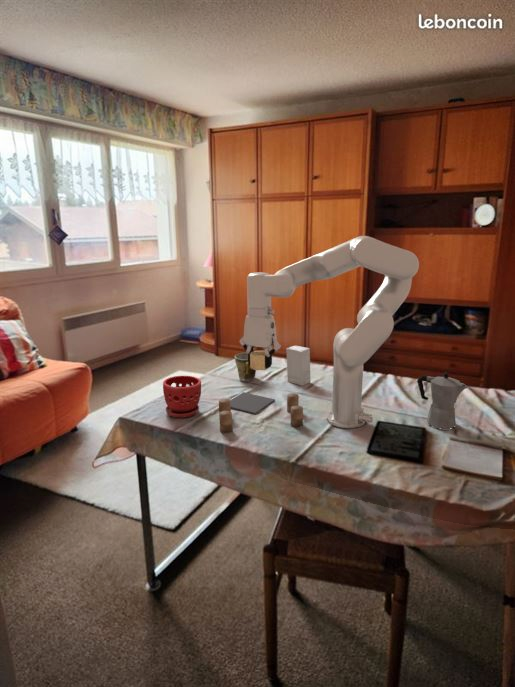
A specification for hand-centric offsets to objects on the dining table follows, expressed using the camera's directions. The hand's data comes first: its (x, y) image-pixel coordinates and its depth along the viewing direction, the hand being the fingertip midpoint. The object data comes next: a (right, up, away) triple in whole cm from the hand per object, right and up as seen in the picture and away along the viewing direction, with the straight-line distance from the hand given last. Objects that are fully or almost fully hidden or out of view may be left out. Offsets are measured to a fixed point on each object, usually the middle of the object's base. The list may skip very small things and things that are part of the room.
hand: (259, 365), depth 150 cm
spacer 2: (-11, -21, -2) cm, 24 cm away
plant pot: (-27, -17, +12) cm, 34 cm away
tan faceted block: (0, -1, 0) cm, 1 cm away
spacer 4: (+12, -20, +1) cm, 23 cm away
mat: (-4, -15, +19) cm, 24 cm away
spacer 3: (+12, -17, +12) cm, 24 cm away
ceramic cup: (-5, -8, +43) cm, 44 cm away
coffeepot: (+59, -19, +1) cm, 62 cm away
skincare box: (+16, -9, +39) cm, 44 cm away
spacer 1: (-12, -18, +7) cm, 23 cm away
